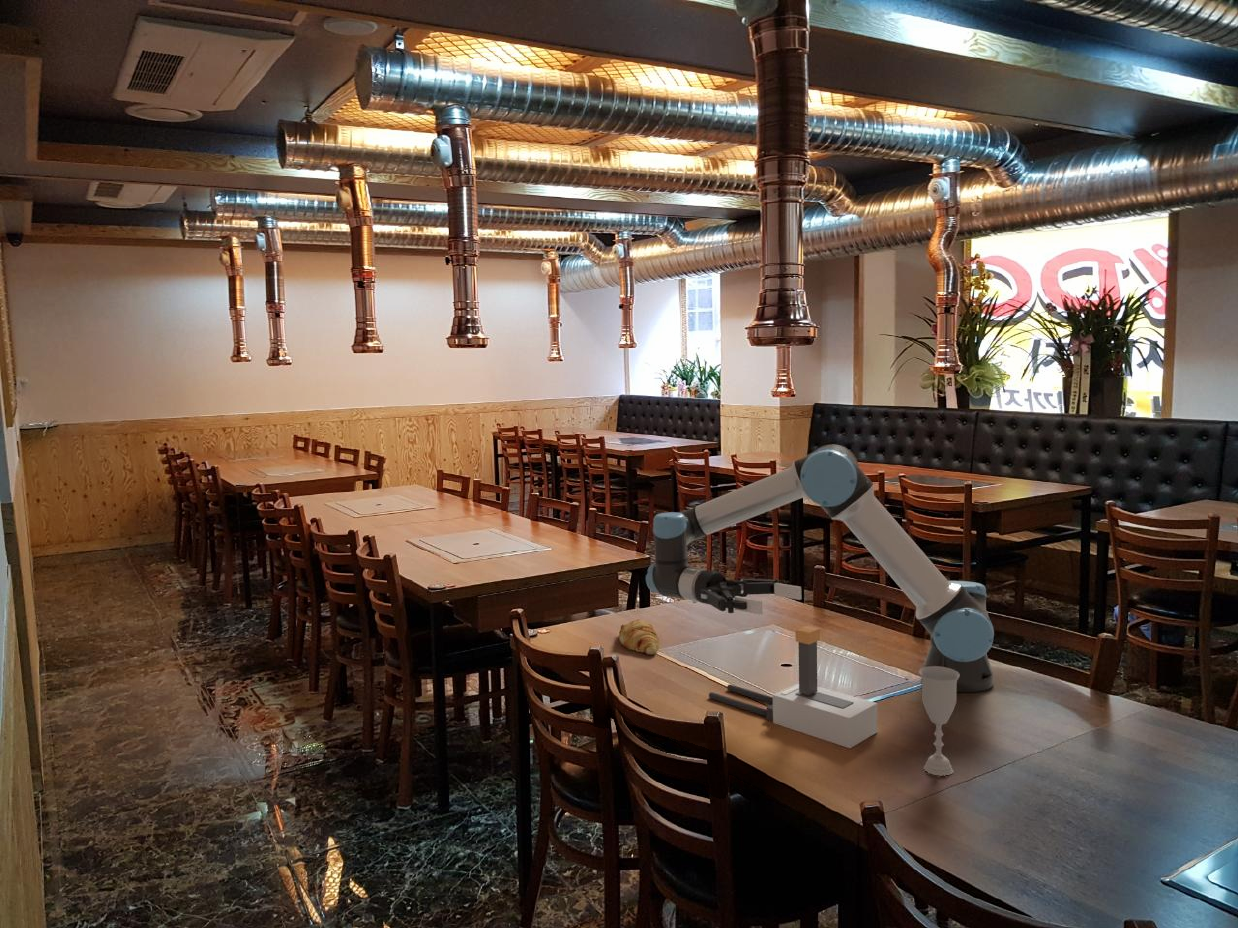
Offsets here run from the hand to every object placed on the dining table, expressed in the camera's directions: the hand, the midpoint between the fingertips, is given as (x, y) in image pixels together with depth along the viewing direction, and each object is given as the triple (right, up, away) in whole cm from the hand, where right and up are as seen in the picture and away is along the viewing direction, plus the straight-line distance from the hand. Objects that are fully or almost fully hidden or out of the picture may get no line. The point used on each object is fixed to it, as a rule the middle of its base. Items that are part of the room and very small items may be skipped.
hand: (781, 600), depth 181 cm
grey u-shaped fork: (-5, -24, +9) cm, 26 cm away
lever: (+5, -18, -2) cm, 19 cm away
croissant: (-29, -21, +52) cm, 63 cm away
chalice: (+24, -27, -24) cm, 43 cm away
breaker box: (+8, -25, -4) cm, 27 cm away
